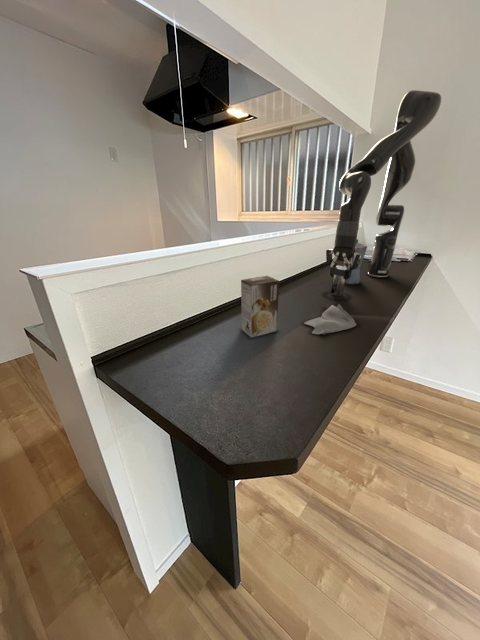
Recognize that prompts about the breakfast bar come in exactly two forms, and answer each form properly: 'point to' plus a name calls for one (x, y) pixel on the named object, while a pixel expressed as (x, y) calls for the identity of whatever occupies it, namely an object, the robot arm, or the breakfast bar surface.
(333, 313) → the cloth
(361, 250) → the moka pot
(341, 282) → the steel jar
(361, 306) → the breakfast bar surface
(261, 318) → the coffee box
